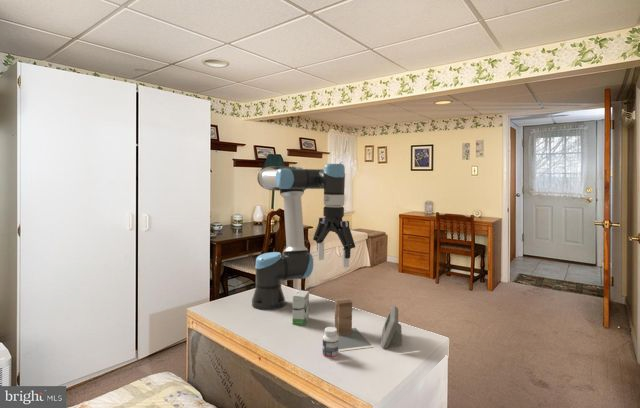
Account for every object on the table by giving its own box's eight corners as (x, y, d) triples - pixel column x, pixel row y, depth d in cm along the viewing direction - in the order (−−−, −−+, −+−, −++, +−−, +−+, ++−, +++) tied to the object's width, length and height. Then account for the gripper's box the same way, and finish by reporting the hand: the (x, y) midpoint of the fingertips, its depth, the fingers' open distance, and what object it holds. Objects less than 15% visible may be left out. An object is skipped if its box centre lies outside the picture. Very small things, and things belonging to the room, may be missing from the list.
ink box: (304, 326, 141) (304, 296, 140) (292, 325, 142) (292, 295, 141) (309, 318, 149) (309, 290, 149) (297, 317, 150) (297, 289, 150)
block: (334, 329, 137) (335, 299, 136) (347, 328, 138) (347, 298, 137) (338, 335, 132) (339, 303, 131) (351, 334, 133) (352, 302, 132)
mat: (325, 332, 136) (325, 330, 136) (355, 328, 139) (355, 327, 139) (340, 352, 119) (340, 351, 119) (373, 348, 123) (373, 347, 123)
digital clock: (383, 330, 138) (384, 303, 137) (407, 334, 134) (408, 306, 133) (372, 348, 123) (372, 318, 122) (398, 353, 119) (399, 322, 119)
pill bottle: (323, 351, 120) (323, 325, 120) (338, 352, 120) (339, 326, 119) (321, 359, 115) (322, 332, 115) (338, 360, 115) (338, 332, 114)
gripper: (304, 204, 139) (303, 258, 140) (350, 209, 120) (349, 272, 121) (319, 203, 143) (318, 255, 145) (366, 208, 124) (364, 268, 126)
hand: (332, 263), depth 133 cm, fingers open, 13 cm apart
